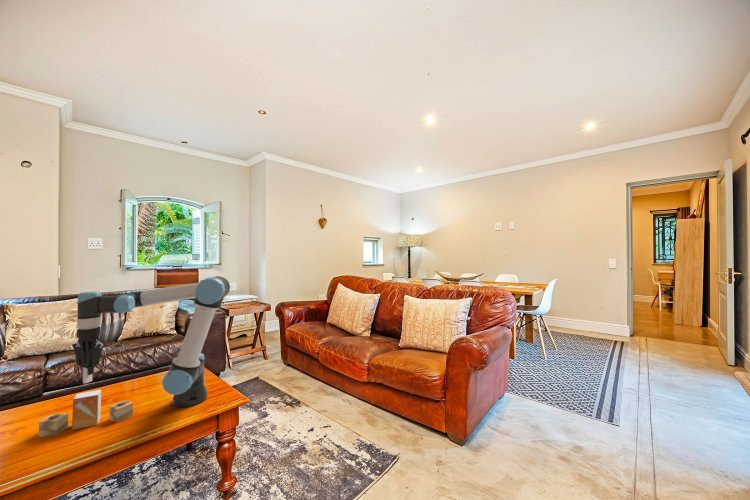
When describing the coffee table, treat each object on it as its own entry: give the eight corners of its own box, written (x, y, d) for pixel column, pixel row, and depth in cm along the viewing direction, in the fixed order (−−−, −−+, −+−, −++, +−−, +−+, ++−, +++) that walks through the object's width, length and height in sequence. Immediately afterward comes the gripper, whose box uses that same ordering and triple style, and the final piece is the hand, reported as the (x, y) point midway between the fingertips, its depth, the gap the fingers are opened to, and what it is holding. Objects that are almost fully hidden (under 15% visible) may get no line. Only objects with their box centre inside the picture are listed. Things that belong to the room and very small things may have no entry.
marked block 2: (132, 416, 137) (132, 402, 137) (117, 422, 132) (117, 408, 132) (124, 413, 140) (125, 399, 140) (109, 419, 134) (109, 405, 134)
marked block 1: (68, 427, 128) (68, 412, 128) (56, 435, 122) (56, 419, 122) (51, 428, 127) (51, 413, 127) (38, 437, 121) (39, 421, 121)
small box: (71, 430, 125) (72, 399, 126) (75, 423, 131) (76, 393, 131) (97, 424, 130) (98, 394, 130) (100, 418, 135) (101, 389, 135)
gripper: (111, 325, 135) (109, 378, 134) (83, 325, 135) (82, 378, 135) (94, 329, 127) (93, 386, 126) (65, 329, 128) (64, 385, 127)
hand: (87, 381), depth 131 cm, fingers closed
